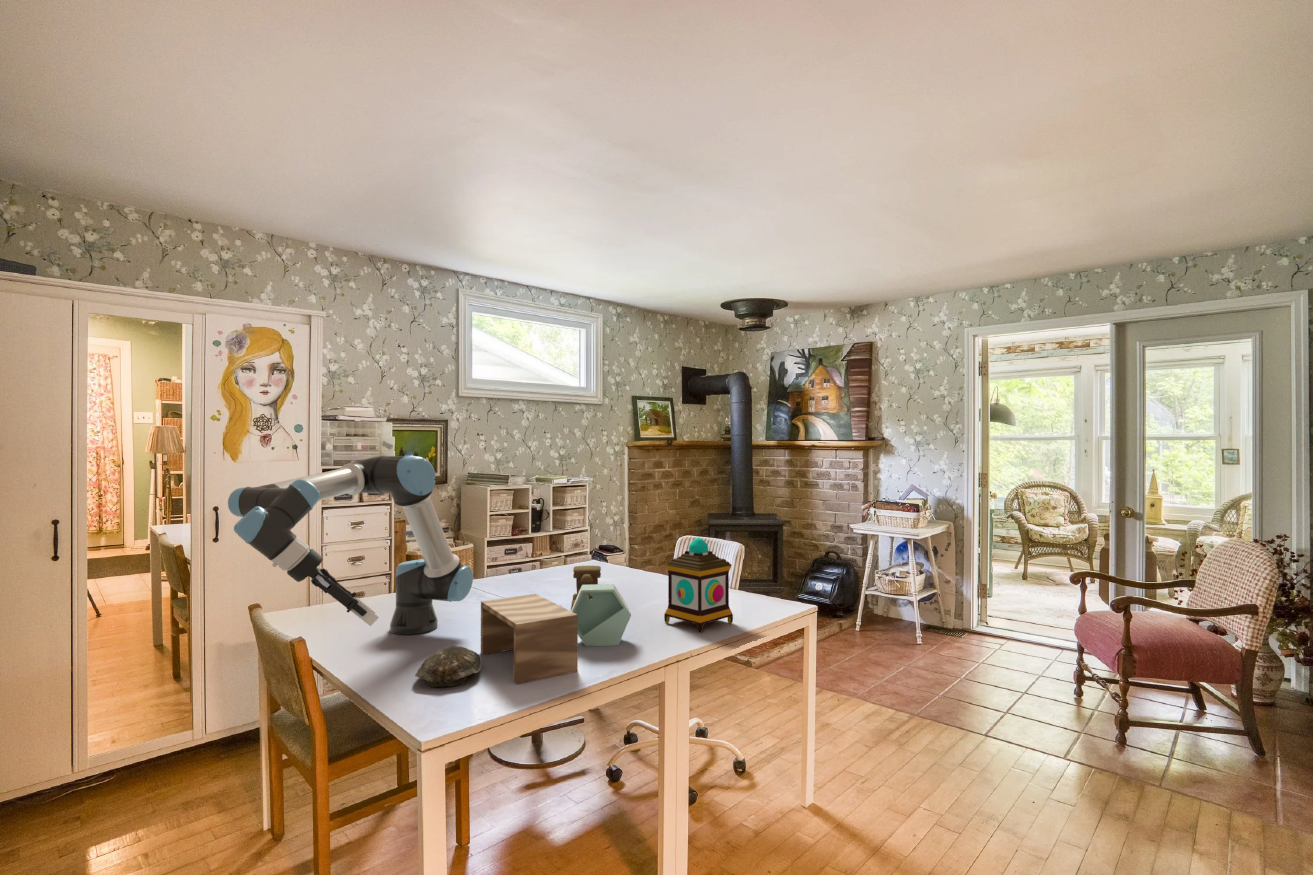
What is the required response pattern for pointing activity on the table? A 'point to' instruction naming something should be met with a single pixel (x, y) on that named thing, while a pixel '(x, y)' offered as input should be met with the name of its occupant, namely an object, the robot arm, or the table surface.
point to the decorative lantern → (698, 586)
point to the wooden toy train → (585, 578)
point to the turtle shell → (449, 666)
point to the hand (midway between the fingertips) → (372, 619)
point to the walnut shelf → (531, 635)
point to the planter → (601, 615)
